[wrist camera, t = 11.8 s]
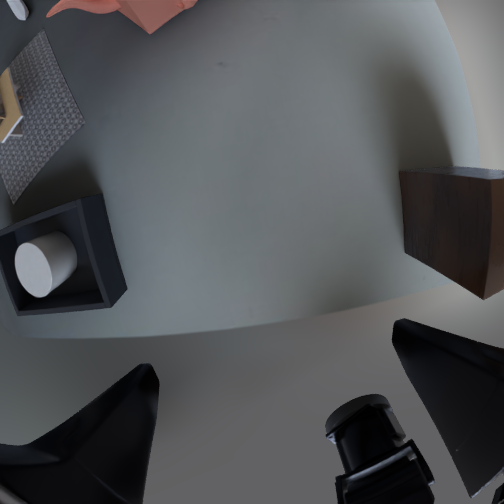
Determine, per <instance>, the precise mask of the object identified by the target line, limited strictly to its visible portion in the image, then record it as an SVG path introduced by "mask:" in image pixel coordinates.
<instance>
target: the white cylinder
mask: <svg viewBox="0 0 504 504" xmlns="http://www.w3.org/2000/svg"><path fill="white" fill-rule="evenodd" d="M76 267H77V254H76V250H75V247H74V245H73V243H72V242H71V240H70V239H69V238H68V237H67V236H66V235H65V234H64V233H62V232H60V231H51V232H49V233H46V234H44V235H41V236H39V237H37V238H34V239H32V240H30V241H27V242H25V243H23V244H21V245H20V246H19V248H18V249H17V252H16V255H15V268H16V272H17V276H18V278H19V280H20V282H21V284H22V285H23V287H24V288H25V289H26V290H27V291H28V292H29V293H30V294H31V295H33V296H35V297H44V296H46V295H47V294H49V293H50V292H51V291H53V290H54V289H55V288H57V287H58V286H59V285H61V284H62V283H63V282H65V281H66V280H67V279H69V278H70V277H71V276H72V275H73V274H74V273H75V270H76Z"/></svg>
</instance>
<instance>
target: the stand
mask: <svg viewBox="0 0 504 504" xmlns="http://www.w3.org/2000/svg"><path fill="white" fill-rule="evenodd" d="M399 175H400V183H401V193H402V203H403V217H404V237H405V253H406V254H408V255H410V256H412V257H414V258H415V259H417V260H419V261H421V262H422V263H424V264H426V265H427V266H429V267H431V268H433V269H434V270H436V271H438V272H439V273H441V274H443V275H444V276H446V277H448V278H449V279H451V280H453V281H454V282H456V283H457V284H459V285H461V286H462V287H464V288H465V289H467V290H469V291H470V292H472V293H473V294H475V295H476V296H478V297H479V298H481V299H482V300H485V299H487V298H489V297H490V296H492V295H494V294H496V293H498V292H499V291H501V290H503V289H504V171H501V170H493V169H483V168H471V167H457V166H451V167H438V168H426V169H415V170H405V171H399Z"/></svg>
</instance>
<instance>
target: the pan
mask: <svg viewBox="0 0 504 504" xmlns="http://www.w3.org/2000/svg"><path fill="white" fill-rule="evenodd" d="M51 231H60V232H62V233H64V234H65V235H66V236H67V237H68V238H69V239H70V240H71V242H72V243H73V245H74V247H75V250H76V254H77V267H76V270H75V273H74V274H73V275H72V276H71V277H70V278H69V279H67V280H66V281H65V282H63V283H62V284H61V285H59V286H58V287H57V288H55V289H54V290H53V291H51V292H50V293H49V294H47V295H46V296H44V297H35V296H33V295H31V294H30V293H29V292H28V291H27V290H26V289H25V288H24V287H23V285H22V284H21V282H20V280H19V278H18V276H17V272H16V268H15V255H16V252H17V249H18V248H19V246H20V245H21V244H23V243H25V242H27V241H30V240H32V239H34V238H37V237H39V236H41V235H44V234H46V233H49V232H51ZM0 270H1V273H2V276H3V279H4V282H5V285H6V288H7V290H8V293H9V296H10V298H11V301H12V304H13V306H14V309H15V311H16V313H17V316H26V315H39V314H52V313H63V312H74V311H84V310H94V309H104V308H111V307H112V306H113V305H114V304H115V303H116V302H117V301H118V299H119V298H120V297H121V296H122V295H123V294H124V293H125V291H126V290H127V286H126V283H125V280H124V276H123V273H122V270H121V267H120V263H119V260H118V256H117V252H116V249H115V245H114V241H113V237H112V233H111V229H110V225H109V221H108V216H107V212H106V207H105V202H104V197H103V194H98V195H93V196H88V197H84V198H79V199H77V200H74V201H71V202H68V203H65V204H62V205H60V206H57V207H54V208H51V209H49V210H46V211H44V212H41V213H39V214H36V215H34V216H31V217H29V218H26V219H24V220H21V221H19V222H17V223H15V224H12V225H10V226H8V227H6V228H3V229H1V230H0Z"/></svg>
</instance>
